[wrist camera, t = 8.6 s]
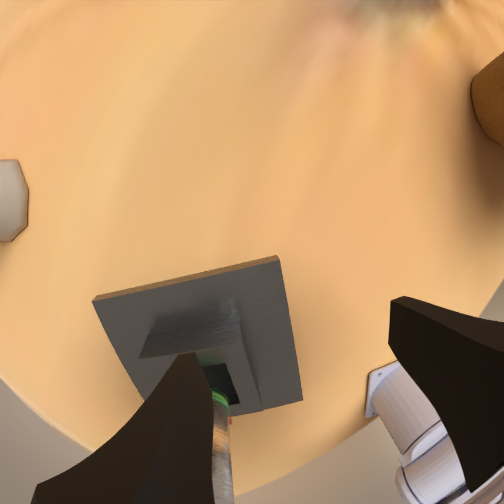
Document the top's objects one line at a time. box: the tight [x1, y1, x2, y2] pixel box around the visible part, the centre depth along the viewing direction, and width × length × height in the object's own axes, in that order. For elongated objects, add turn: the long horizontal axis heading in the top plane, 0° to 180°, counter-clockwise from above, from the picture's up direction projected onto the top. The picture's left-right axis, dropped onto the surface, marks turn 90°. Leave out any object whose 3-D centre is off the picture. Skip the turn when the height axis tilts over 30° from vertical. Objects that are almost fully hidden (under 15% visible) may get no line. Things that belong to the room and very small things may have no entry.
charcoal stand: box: [92, 255, 303, 424], centre depth 19 cm, size 14×14×4 cm
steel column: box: [210, 386, 234, 504], centre depth 12 cm, size 3×3×8 cm
